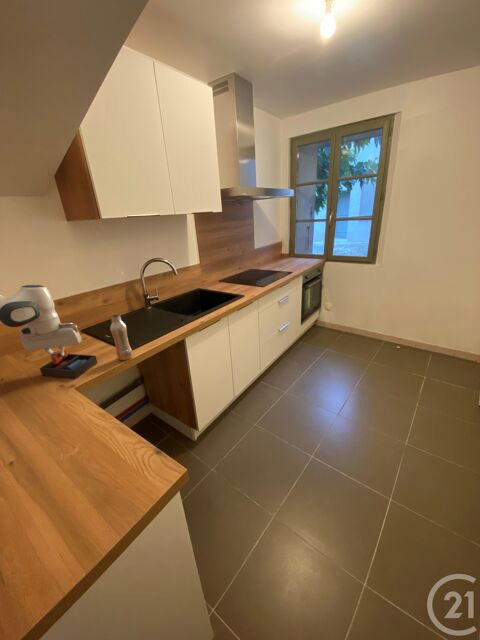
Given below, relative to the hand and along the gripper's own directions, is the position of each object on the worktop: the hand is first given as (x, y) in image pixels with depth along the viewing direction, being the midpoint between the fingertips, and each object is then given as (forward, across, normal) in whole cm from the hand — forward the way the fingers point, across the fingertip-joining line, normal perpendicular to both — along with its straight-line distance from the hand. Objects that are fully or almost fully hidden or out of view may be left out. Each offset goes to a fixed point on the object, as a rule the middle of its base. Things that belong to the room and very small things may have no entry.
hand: (58, 356), depth 107 cm
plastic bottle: (+6, -25, -3) cm, 26 cm away
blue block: (+5, -7, +2) cm, 9 cm away
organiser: (+6, -4, +1) cm, 7 cm away
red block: (+2, 0, 0) cm, 2 cm away
